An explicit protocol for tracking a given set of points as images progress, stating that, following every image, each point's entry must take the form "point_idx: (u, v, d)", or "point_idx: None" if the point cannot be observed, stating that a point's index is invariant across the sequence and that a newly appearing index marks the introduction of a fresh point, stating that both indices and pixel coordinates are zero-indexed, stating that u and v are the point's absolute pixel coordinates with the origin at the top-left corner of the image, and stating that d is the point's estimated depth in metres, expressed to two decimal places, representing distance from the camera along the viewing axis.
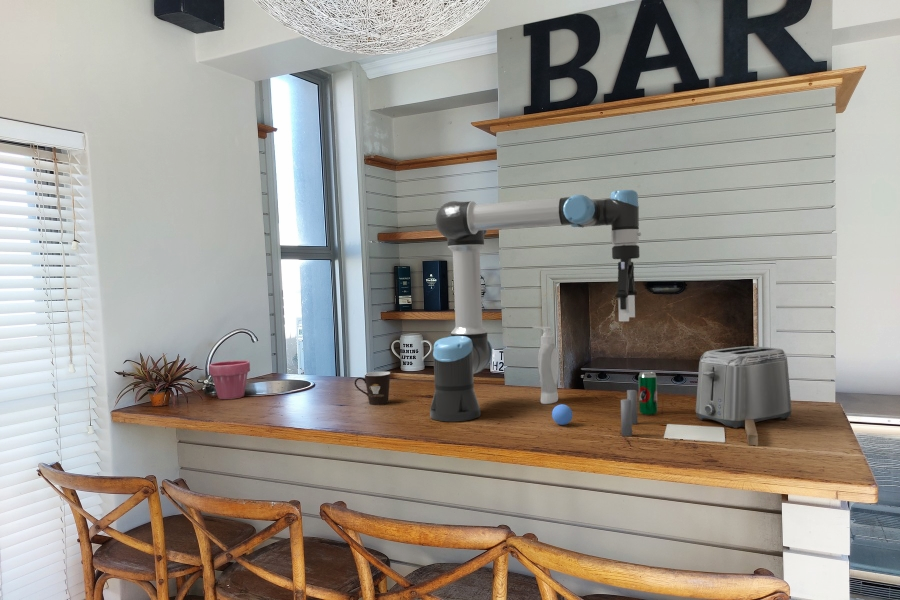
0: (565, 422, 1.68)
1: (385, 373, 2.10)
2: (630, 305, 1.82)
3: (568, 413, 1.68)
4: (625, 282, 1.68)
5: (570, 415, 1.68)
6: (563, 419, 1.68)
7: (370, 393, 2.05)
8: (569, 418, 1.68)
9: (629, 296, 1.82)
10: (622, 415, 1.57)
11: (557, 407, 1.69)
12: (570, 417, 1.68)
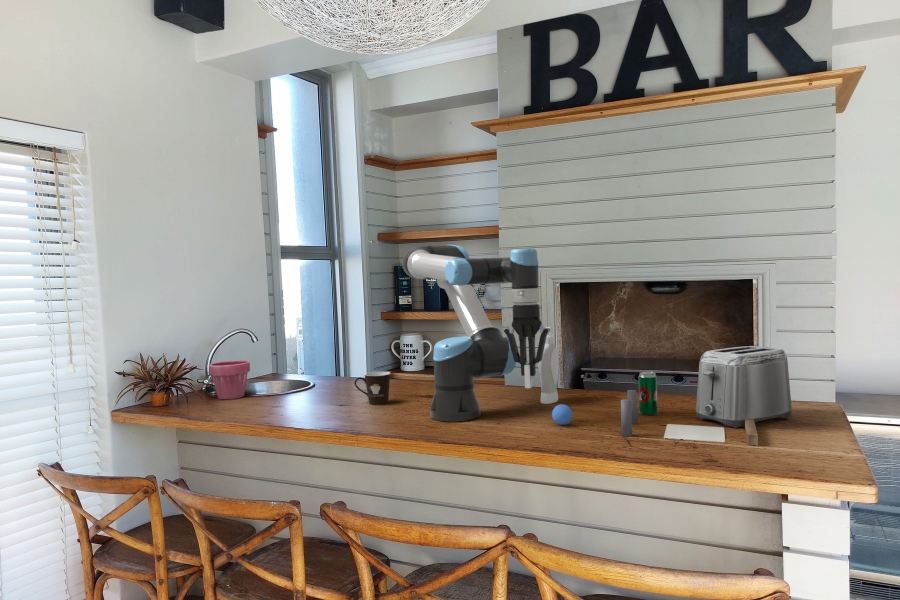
0: (565, 422, 1.68)
1: (385, 373, 2.10)
2: None
3: (568, 413, 1.68)
4: None
5: (570, 415, 1.68)
6: (563, 419, 1.68)
7: (370, 393, 2.05)
8: (569, 418, 1.68)
9: None
10: (622, 415, 1.57)
11: (557, 407, 1.69)
12: (570, 417, 1.68)
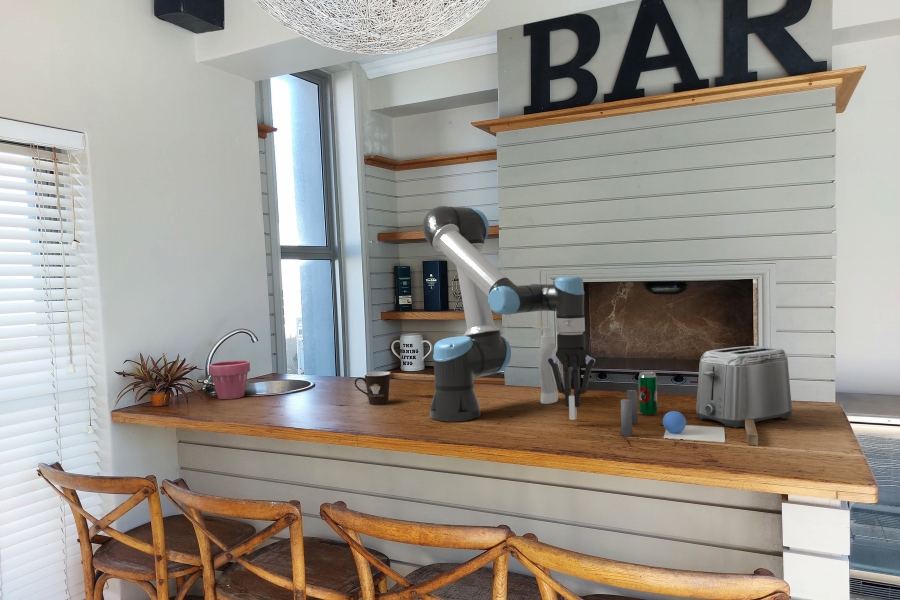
0: (674, 415, 1.56)
1: (385, 373, 2.10)
2: None
3: (665, 419, 1.57)
4: None
5: (666, 415, 1.58)
6: (672, 419, 1.56)
7: (370, 393, 2.05)
8: (668, 414, 1.57)
9: None
10: (622, 415, 1.57)
11: (670, 431, 1.57)
12: (667, 414, 1.57)
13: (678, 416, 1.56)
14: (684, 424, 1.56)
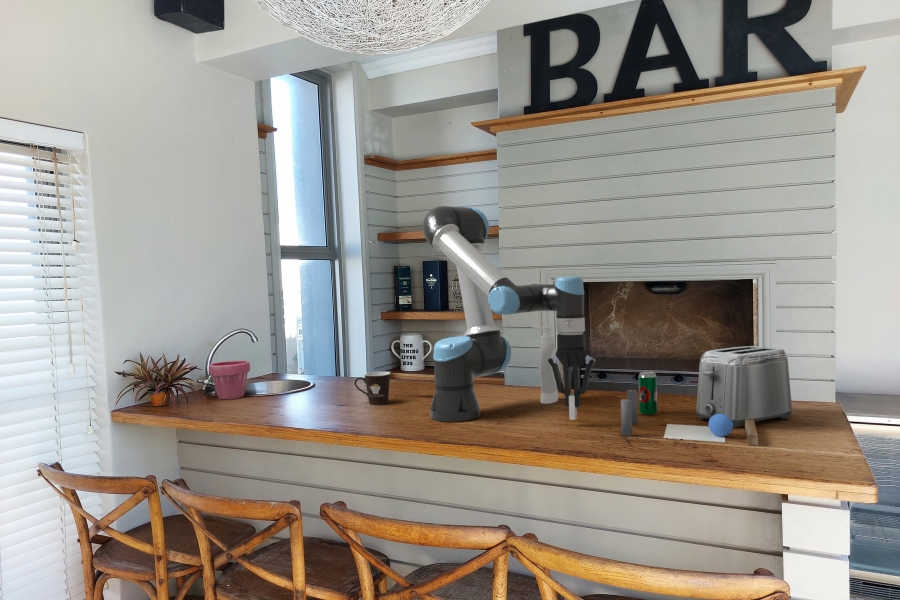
0: (713, 431, 1.52)
1: (385, 373, 2.10)
2: None
3: (724, 435, 1.52)
4: None
5: (721, 436, 1.52)
6: (717, 431, 1.51)
7: (370, 393, 2.05)
8: (718, 435, 1.52)
9: None
10: (622, 415, 1.57)
11: (730, 423, 1.51)
12: None
13: (711, 428, 1.53)
14: (712, 418, 1.53)
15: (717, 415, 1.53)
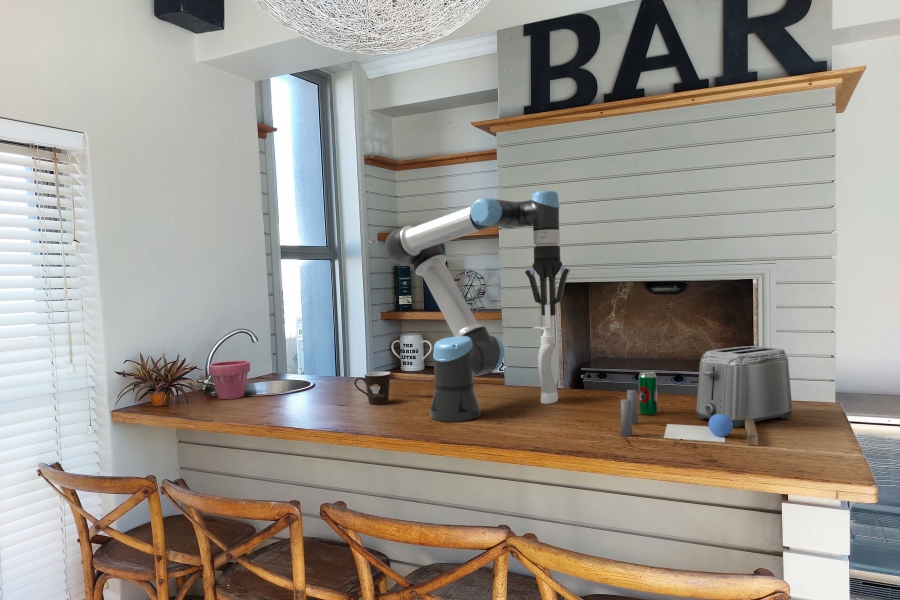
0: (713, 431, 1.52)
1: (385, 373, 2.10)
2: None
3: (724, 435, 1.52)
4: None
5: (721, 436, 1.52)
6: (717, 431, 1.51)
7: (370, 393, 2.05)
8: (718, 435, 1.52)
9: None
10: (622, 415, 1.57)
11: (730, 423, 1.51)
12: None
13: (711, 428, 1.53)
14: (712, 418, 1.53)
15: (717, 415, 1.53)
